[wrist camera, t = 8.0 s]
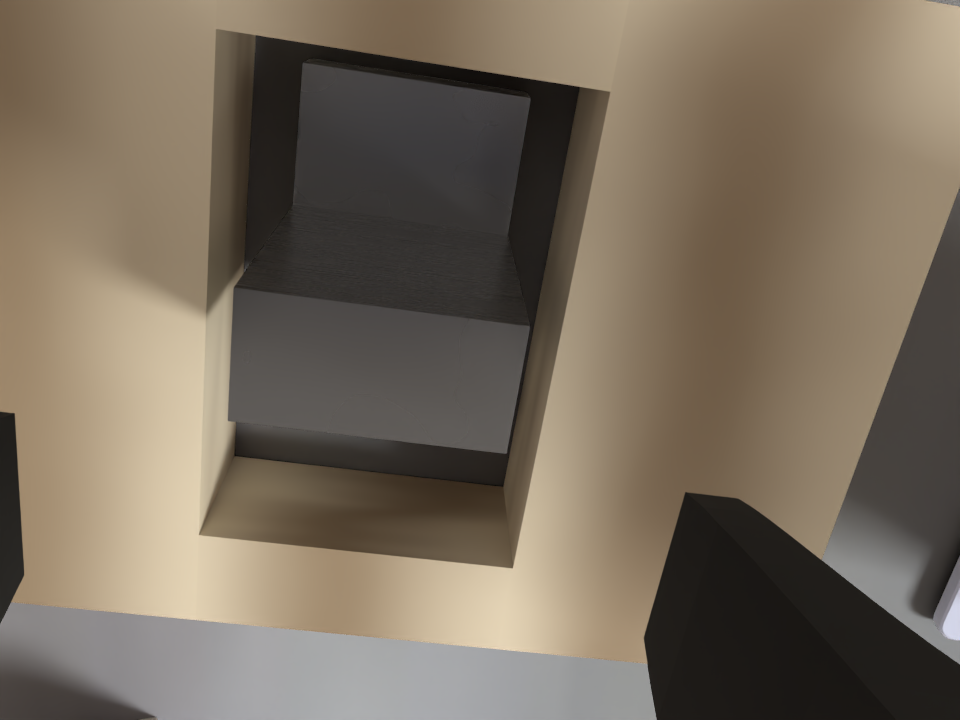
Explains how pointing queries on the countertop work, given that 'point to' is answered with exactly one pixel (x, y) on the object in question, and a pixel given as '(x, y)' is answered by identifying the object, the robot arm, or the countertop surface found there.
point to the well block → (558, 325)
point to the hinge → (150, 718)
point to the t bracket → (389, 267)
